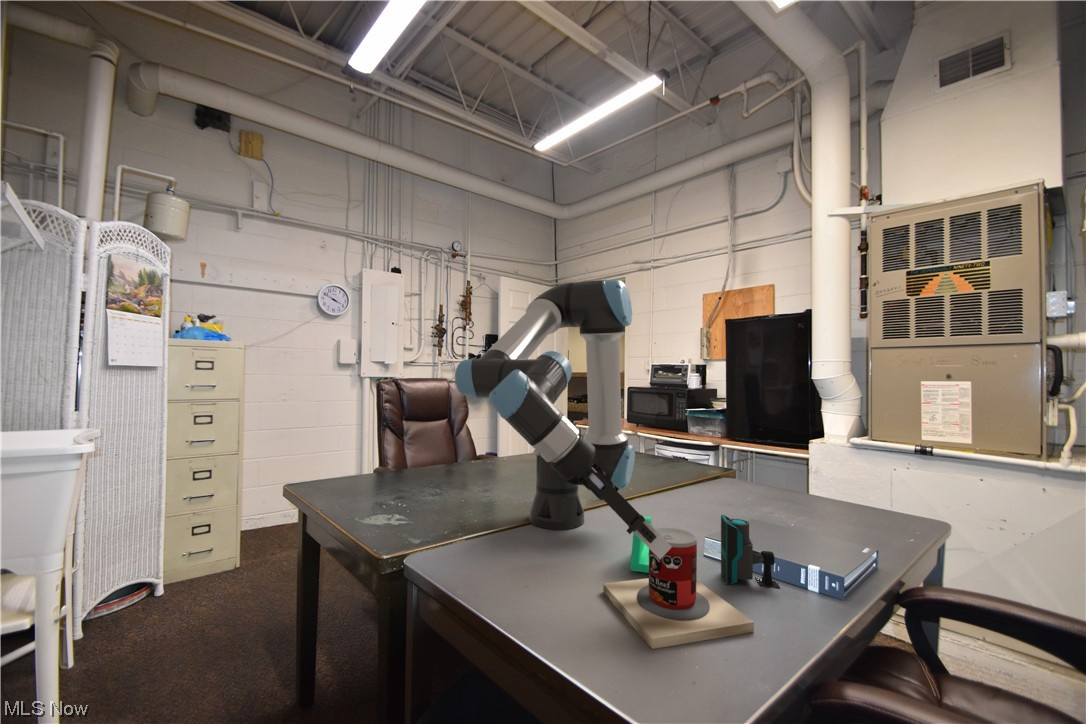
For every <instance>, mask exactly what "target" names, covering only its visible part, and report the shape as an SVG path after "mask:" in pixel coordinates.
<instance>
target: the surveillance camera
mask: <svg viewBox="0 0 1086 724" xmlns="http://www.w3.org/2000/svg"><path fill="white" fill-rule="evenodd" d="M756 564H757V565H758V564H762V565H763V574H762V577H761V578H762V581H760V579H759V580H756V582H757V581H759V582H757V584H758V583H759V584H758V585H760V586H759V587H761V586H767V587H766V588H771V587H776V588H775V589H781V586H780V585H779V583H778V582H777V581H776V582H777V583H776V582H775V581H772V579H773V577H772V566H774V565H775V554H774V552H772V551H770V550H769V551H768V550H762V551H760V552H759V551H756V550H754V547H753V543H752V540H751V538H750V522H749V521H747V520H744V519H742V518H741V519H739V518H729V517H728V516H727V515H725V514H720V575H721V574H722V575H721V578H722V577H723V578H722V579H724V580H723V583H724V582H725V583H726V584H725V583H724V584H725V585H732V584H737V583H738V580H744V581H745V580H746V581H747V580H748V581H751V580H753V579H754V578H756V577H757V576H755V577H754V575H753V573H754V570H753V569H754V566H753V565H756ZM753 577H754V578H753ZM757 579H758V578H757ZM777 587H778V588H777Z"/></svg>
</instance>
